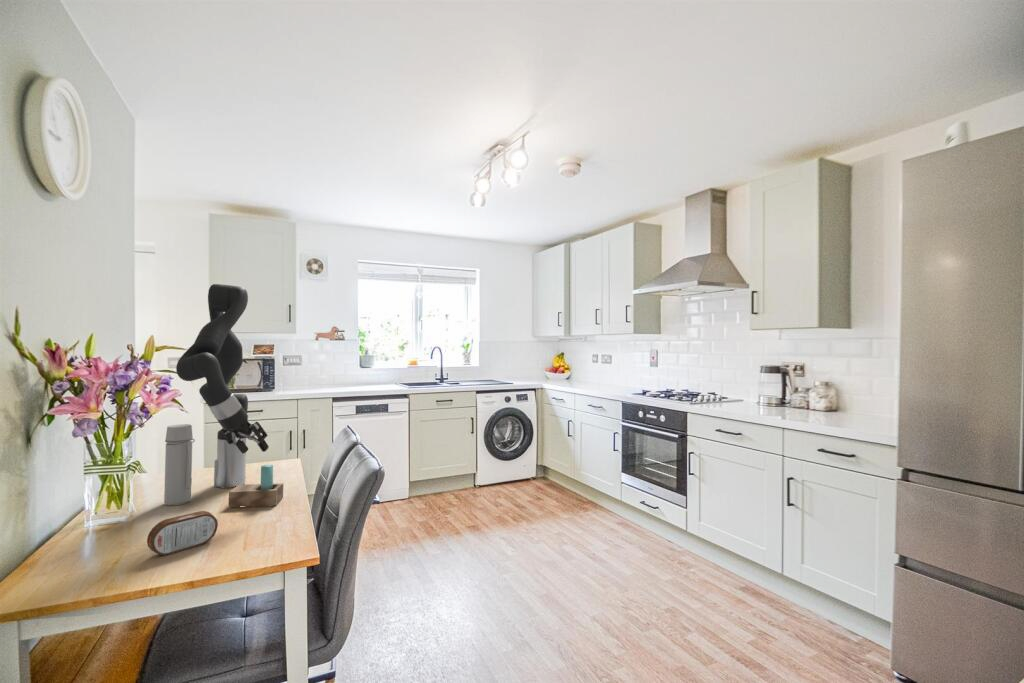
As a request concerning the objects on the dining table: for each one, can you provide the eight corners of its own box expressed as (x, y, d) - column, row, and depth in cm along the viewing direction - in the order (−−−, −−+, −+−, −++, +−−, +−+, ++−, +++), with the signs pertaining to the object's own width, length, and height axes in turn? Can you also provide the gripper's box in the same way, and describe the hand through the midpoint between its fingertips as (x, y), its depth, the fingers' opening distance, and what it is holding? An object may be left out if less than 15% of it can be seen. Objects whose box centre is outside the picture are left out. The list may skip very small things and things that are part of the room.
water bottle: (157, 505, 152) (159, 426, 152) (181, 497, 159) (183, 423, 160) (177, 508, 149) (180, 428, 149) (201, 501, 157) (203, 425, 157)
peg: (258, 504, 154) (259, 467, 154) (262, 501, 158) (263, 464, 158) (270, 504, 155) (271, 467, 155) (273, 500, 158) (274, 464, 159)
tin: (213, 538, 127) (214, 506, 127) (219, 541, 126) (219, 509, 126) (146, 557, 115) (146, 522, 115) (150, 561, 113) (151, 525, 113)
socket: (228, 507, 151) (228, 492, 151) (238, 499, 158) (238, 484, 159) (276, 505, 153) (276, 490, 153) (283, 498, 161) (283, 483, 161)
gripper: (254, 401, 146) (280, 441, 154) (219, 405, 151) (246, 444, 158) (237, 417, 140) (265, 457, 147) (202, 421, 145) (230, 460, 152)
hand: (255, 450), depth 153 cm, fingers open, 8 cm apart
